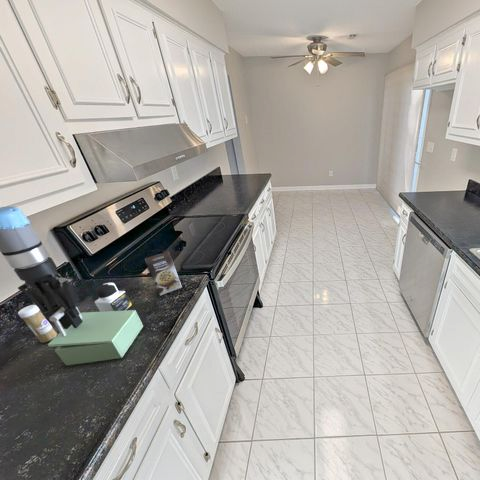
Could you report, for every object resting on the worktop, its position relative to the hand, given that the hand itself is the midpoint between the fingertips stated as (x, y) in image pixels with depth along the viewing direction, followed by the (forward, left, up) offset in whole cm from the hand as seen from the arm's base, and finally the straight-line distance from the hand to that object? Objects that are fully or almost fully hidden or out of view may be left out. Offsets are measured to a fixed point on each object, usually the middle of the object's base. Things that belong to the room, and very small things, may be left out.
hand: (73, 325), depth 80 cm
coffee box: (+15, +29, -10) cm, 34 cm away
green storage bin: (+6, 0, -10) cm, 12 cm away
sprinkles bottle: (-18, +7, -10) cm, 22 cm away
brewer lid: (+6, 0, -2) cm, 6 cm away
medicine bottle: (-1, +18, -10) cm, 21 cm away
